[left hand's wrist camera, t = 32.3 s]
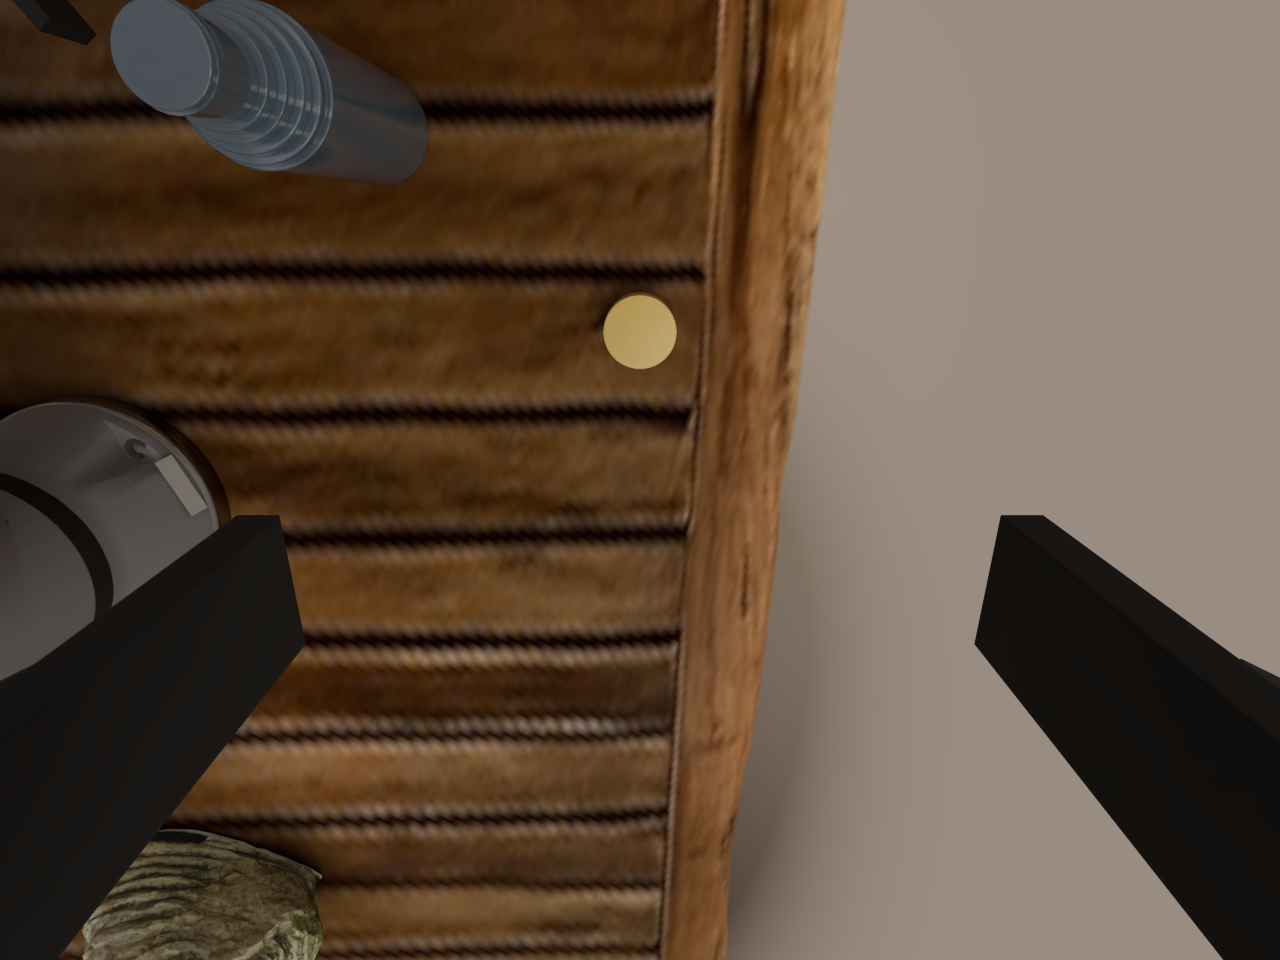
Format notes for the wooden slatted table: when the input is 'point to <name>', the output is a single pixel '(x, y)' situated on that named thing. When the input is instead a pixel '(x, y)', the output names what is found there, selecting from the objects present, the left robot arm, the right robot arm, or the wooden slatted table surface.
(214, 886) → the fossil
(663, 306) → the cap
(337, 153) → the bottle
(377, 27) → the wooden slatted table surface
